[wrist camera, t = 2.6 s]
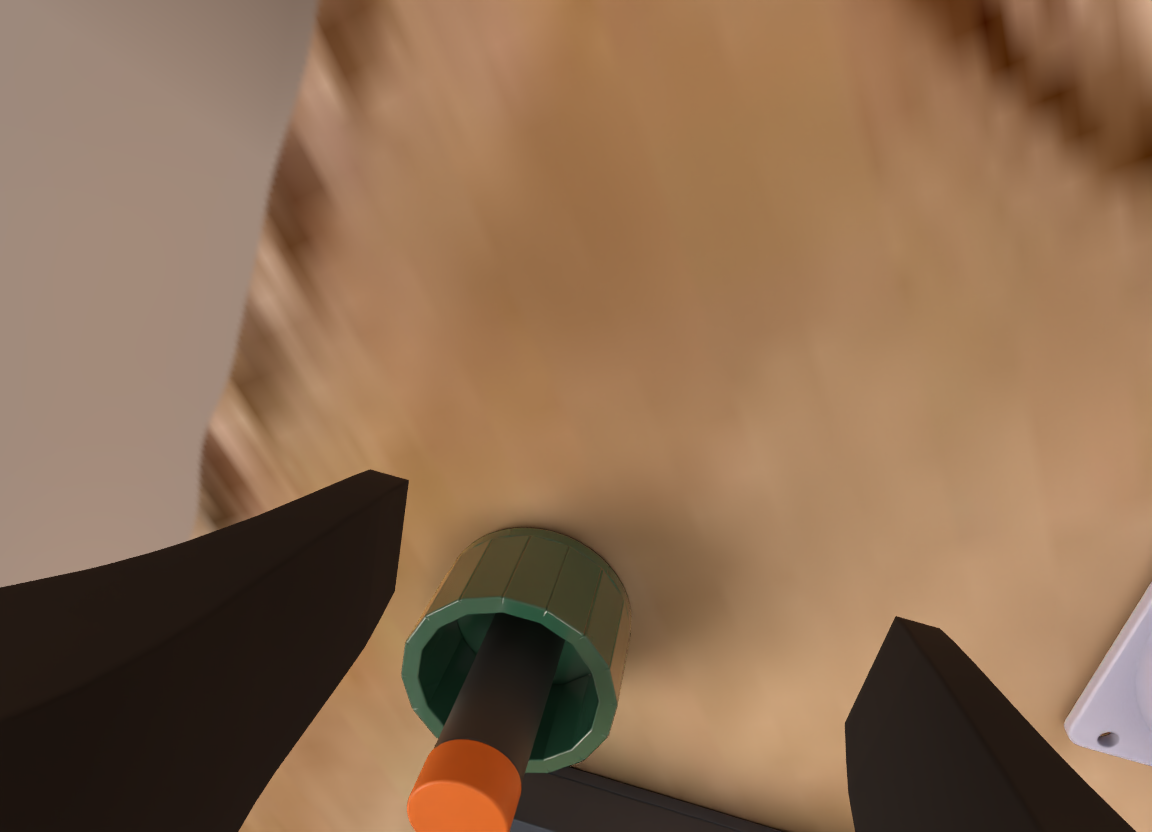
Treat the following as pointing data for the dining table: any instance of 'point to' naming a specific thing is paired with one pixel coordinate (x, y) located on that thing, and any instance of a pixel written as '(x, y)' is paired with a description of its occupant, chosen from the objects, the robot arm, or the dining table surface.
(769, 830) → the tray
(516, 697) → the marker
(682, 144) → the dining table surface
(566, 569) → the pen pot
